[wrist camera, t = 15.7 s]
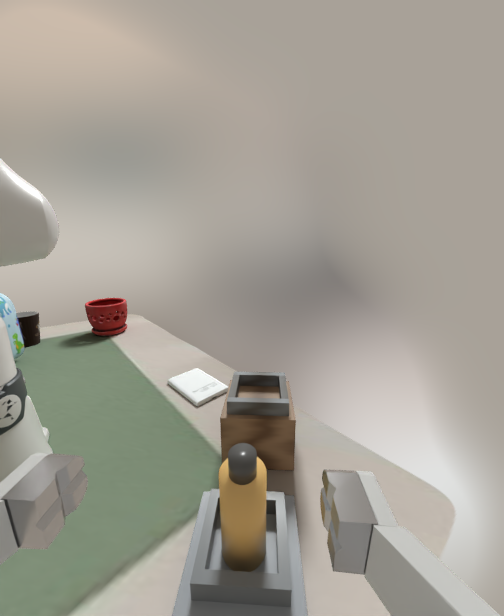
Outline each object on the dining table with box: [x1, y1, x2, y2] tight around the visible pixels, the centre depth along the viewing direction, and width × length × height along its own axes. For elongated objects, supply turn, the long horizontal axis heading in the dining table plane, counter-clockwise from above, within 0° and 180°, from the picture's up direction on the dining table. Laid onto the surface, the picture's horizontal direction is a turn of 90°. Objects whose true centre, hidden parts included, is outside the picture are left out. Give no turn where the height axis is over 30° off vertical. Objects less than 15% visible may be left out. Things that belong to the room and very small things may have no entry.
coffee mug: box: [16, 311, 40, 347], centre depth 80 cm, size 12×9×10 cm
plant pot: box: [85, 298, 127, 336], centre depth 92 cm, size 13×13×12 cm
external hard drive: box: [168, 368, 229, 407], centre depth 56 cm, size 2×8×12 cm
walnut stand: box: [220, 372, 296, 470], centre depth 39 cm, size 10×10×10 cm
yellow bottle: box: [219, 443, 267, 572], centre depth 24 cm, size 4×4×11 cm
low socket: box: [172, 489, 308, 616], centre depth 25 cm, size 11×11×3 cm
